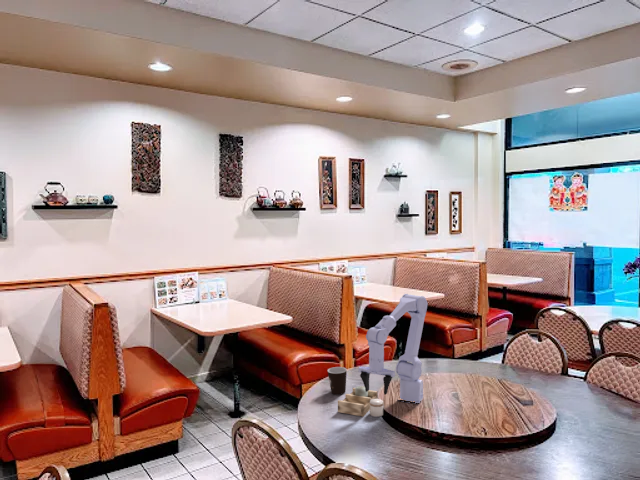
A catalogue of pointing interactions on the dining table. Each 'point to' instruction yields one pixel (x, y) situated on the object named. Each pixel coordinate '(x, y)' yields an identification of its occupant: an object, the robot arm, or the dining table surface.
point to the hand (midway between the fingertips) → (376, 392)
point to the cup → (376, 407)
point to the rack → (357, 401)
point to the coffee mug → (337, 380)
